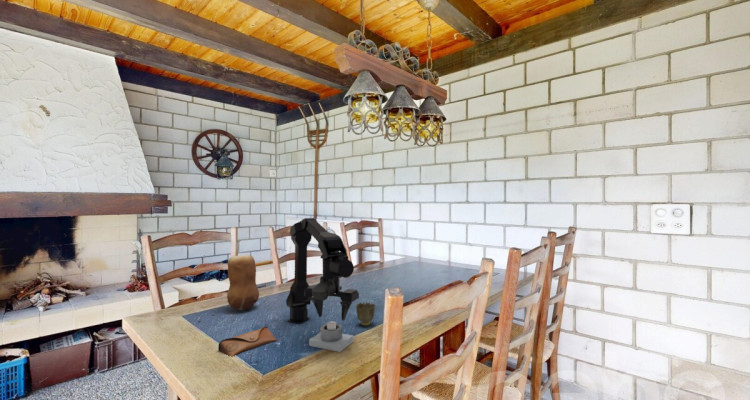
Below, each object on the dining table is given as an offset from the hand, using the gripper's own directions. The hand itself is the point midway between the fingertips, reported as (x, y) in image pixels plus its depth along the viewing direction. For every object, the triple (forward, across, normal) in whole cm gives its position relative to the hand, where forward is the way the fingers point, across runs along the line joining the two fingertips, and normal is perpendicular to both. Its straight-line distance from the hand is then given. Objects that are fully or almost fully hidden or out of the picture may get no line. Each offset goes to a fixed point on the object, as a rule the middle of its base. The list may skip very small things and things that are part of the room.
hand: (331, 318), depth 113 cm
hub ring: (+6, 0, 0) cm, 7 cm away
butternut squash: (+9, -57, +15) cm, 60 cm away
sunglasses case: (+9, -25, -12) cm, 29 cm away
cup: (+9, +3, +20) cm, 22 cm away
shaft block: (+8, 0, 0) cm, 9 cm away
